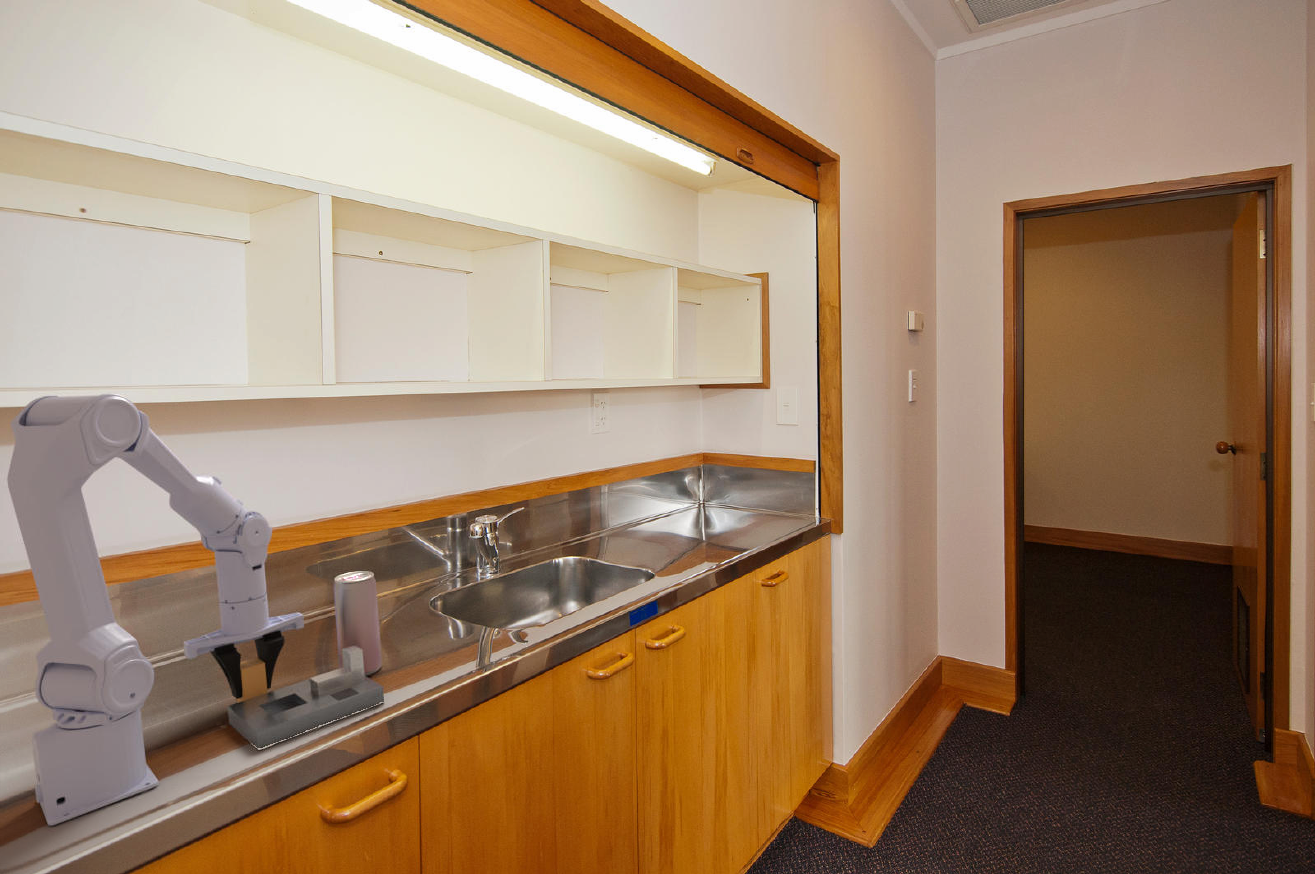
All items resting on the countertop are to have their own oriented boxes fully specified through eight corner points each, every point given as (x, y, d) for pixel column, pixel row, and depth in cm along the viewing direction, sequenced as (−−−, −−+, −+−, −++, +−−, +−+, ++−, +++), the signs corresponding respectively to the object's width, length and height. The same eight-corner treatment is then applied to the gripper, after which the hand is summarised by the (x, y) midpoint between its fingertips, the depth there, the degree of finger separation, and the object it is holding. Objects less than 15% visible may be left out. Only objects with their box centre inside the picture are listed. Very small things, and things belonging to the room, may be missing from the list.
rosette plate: (258, 751, 86) (256, 732, 86) (229, 723, 93) (227, 705, 93) (384, 703, 98) (383, 686, 97) (349, 681, 105) (348, 666, 105)
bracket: (318, 695, 95) (315, 664, 95) (311, 690, 97) (308, 659, 96) (364, 679, 100) (362, 649, 99) (356, 675, 101) (354, 645, 101)
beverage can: (334, 671, 109) (326, 577, 108) (372, 660, 113) (365, 568, 112) (349, 682, 105) (341, 584, 103) (388, 670, 109) (381, 575, 108)
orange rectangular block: (244, 712, 96) (240, 669, 96) (237, 705, 98) (233, 664, 98) (268, 704, 99) (264, 662, 98) (260, 698, 101) (257, 657, 100)
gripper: (287, 579, 105) (295, 667, 106) (173, 605, 95) (183, 702, 96) (306, 587, 100) (314, 679, 102) (188, 615, 90) (198, 717, 91)
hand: (251, 691), depth 98 cm, fingers closed on orange rectangular block, 3 cm apart
